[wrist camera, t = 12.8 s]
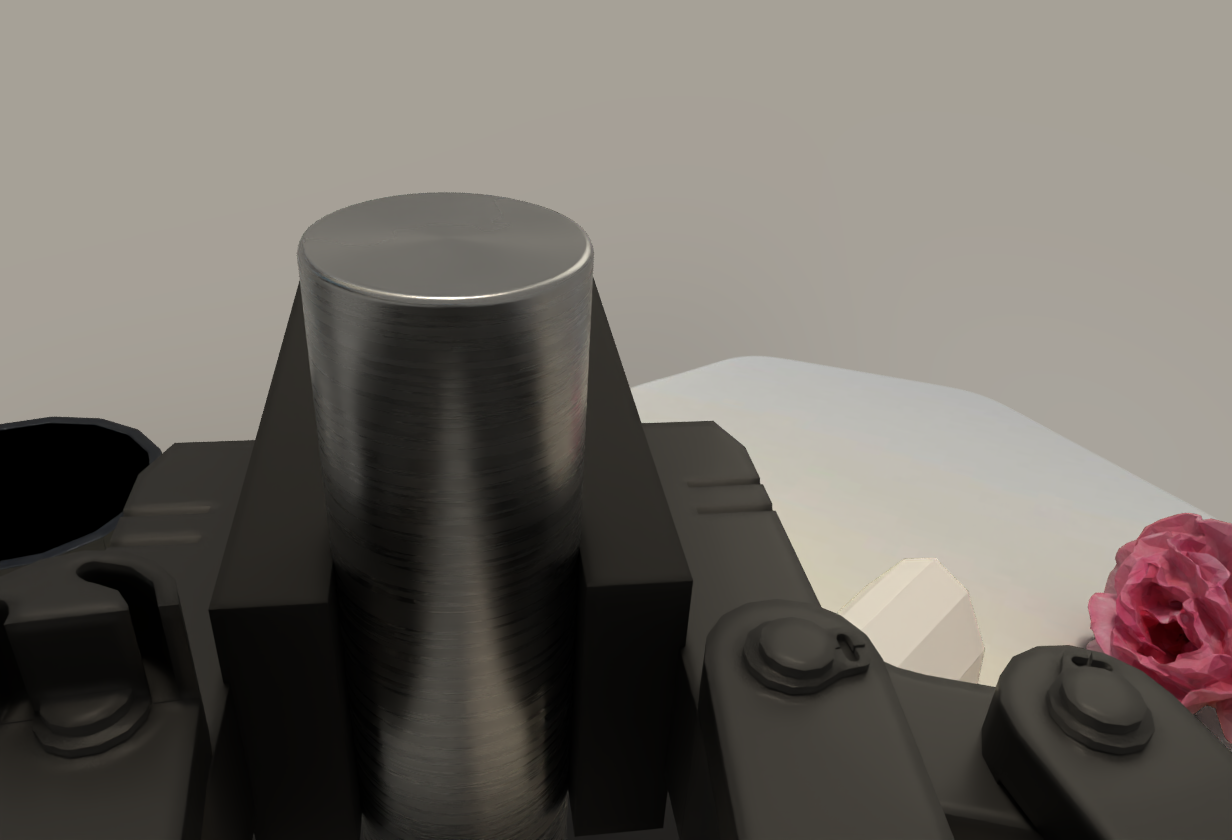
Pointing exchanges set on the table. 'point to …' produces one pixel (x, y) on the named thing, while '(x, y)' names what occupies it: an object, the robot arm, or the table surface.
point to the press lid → (455, 503)
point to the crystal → (920, 620)
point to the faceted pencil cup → (65, 485)
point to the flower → (1173, 611)
